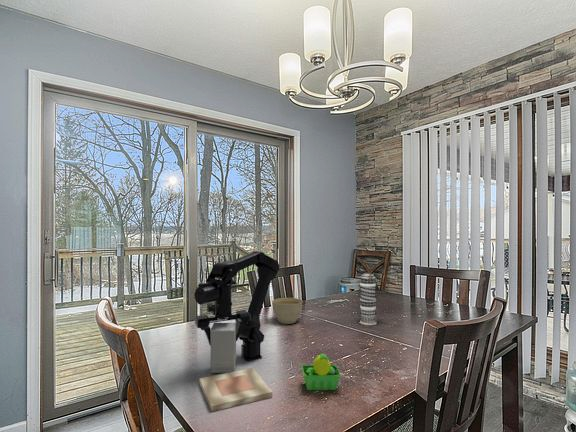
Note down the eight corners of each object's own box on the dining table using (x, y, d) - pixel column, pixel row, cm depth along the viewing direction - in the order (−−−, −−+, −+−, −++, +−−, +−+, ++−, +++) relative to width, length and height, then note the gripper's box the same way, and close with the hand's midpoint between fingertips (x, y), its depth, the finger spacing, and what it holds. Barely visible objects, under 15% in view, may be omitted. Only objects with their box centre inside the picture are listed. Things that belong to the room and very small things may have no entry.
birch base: (252, 372, 114) (252, 367, 114) (272, 396, 98) (272, 391, 98) (199, 383, 106) (199, 378, 107) (211, 411, 90) (211, 405, 90)
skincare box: (235, 363, 120) (237, 321, 118) (233, 375, 112) (235, 330, 111) (212, 363, 119) (214, 320, 118) (208, 374, 112) (210, 329, 111)
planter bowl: (303, 317, 181) (303, 297, 181) (301, 326, 165) (301, 304, 165) (274, 317, 183) (274, 297, 183) (269, 325, 166) (269, 304, 167)
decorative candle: (373, 326, 165) (372, 276, 165) (356, 323, 170) (355, 274, 171) (380, 322, 172) (379, 273, 173) (363, 319, 178) (363, 272, 178)
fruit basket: (336, 380, 108) (336, 345, 109) (341, 394, 99) (341, 356, 100) (301, 380, 108) (301, 346, 108) (303, 394, 99) (303, 356, 99)
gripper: (241, 291, 128) (242, 332, 128) (192, 296, 120) (192, 339, 120) (251, 297, 118) (251, 341, 118) (197, 303, 110) (197, 350, 110)
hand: (223, 342), depth 116 cm, fingers closed on skincare box, 9 cm apart
